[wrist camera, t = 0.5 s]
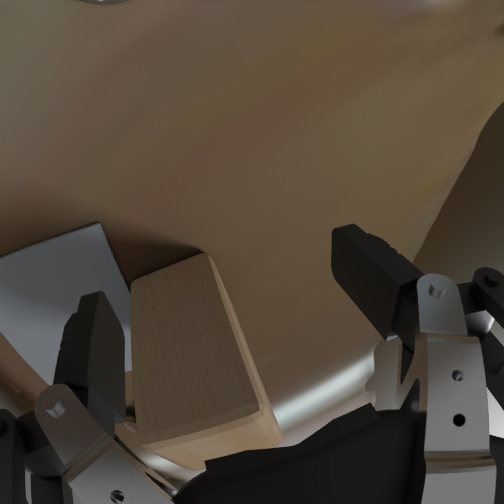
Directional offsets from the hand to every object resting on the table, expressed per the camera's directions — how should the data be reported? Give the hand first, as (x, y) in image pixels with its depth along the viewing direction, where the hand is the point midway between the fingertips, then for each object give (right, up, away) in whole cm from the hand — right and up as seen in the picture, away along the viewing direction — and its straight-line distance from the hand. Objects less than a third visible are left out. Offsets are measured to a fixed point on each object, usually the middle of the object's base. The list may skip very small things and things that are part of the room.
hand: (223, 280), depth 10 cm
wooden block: (-7, -4, +26) cm, 28 cm away
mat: (-24, -8, +23) cm, 34 cm away
